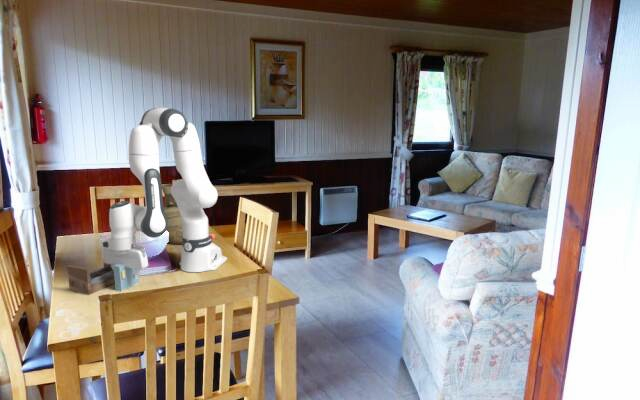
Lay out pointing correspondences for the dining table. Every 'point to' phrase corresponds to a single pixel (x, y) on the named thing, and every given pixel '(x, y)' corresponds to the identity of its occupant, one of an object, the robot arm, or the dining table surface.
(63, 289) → the dining table surface
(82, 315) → the dining table surface
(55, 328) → the dining table surface
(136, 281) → the door panel
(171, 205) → the ceramic vessel
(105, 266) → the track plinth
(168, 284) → the dining table surface
